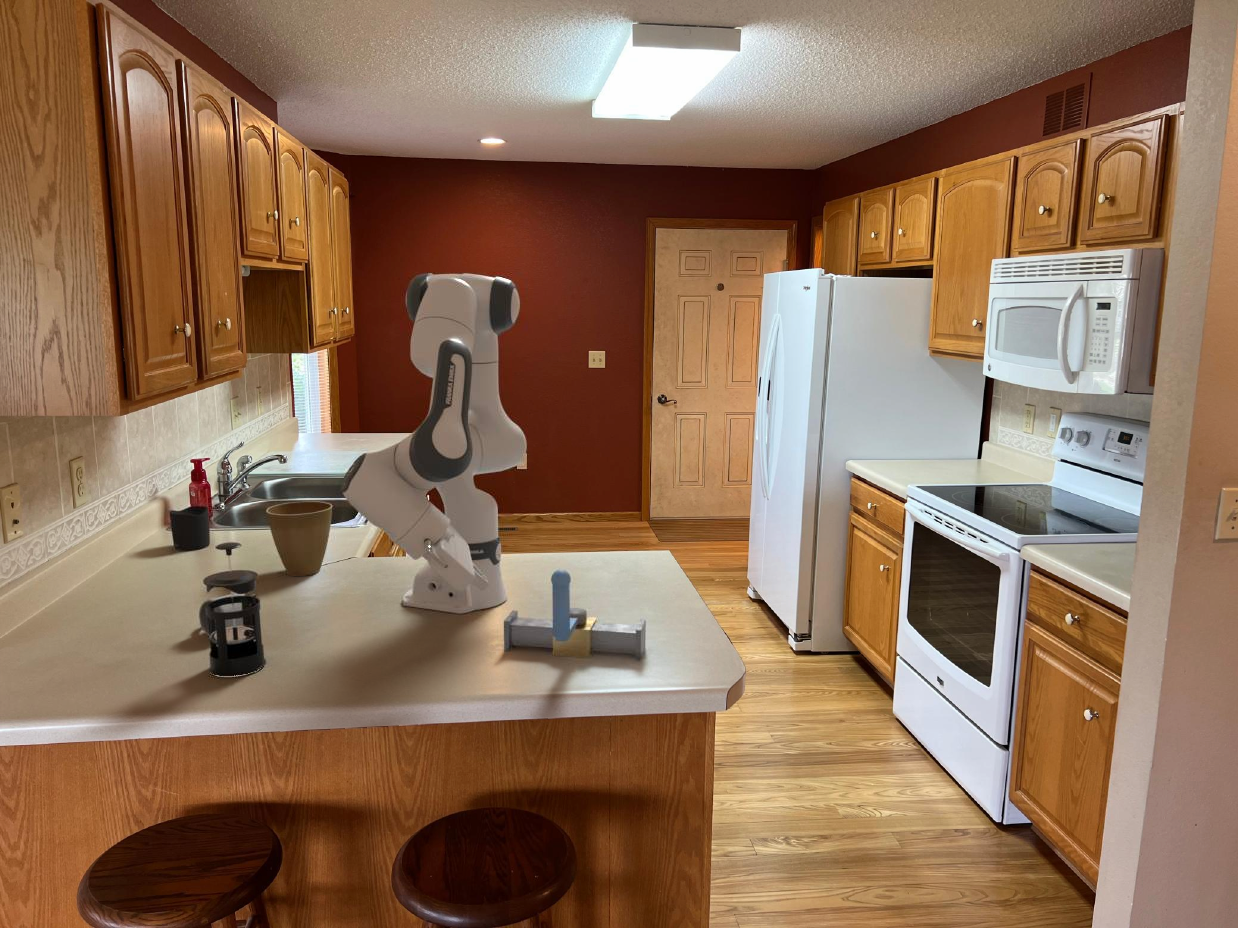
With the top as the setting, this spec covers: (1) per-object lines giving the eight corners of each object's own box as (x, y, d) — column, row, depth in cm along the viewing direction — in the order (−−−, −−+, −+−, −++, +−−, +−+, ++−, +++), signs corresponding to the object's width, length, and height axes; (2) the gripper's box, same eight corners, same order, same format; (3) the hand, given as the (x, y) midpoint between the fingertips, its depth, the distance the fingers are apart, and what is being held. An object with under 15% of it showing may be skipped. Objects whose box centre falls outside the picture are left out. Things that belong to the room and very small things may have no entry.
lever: (566, 616, 172) (565, 548, 170) (588, 617, 172) (588, 549, 169) (546, 645, 158) (546, 572, 155) (571, 647, 157) (571, 573, 155)
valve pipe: (503, 651, 170) (503, 621, 169) (513, 639, 176) (512, 609, 175) (640, 661, 166) (640, 630, 165) (645, 648, 172) (645, 618, 171)
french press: (247, 681, 157) (237, 553, 153) (196, 678, 158) (185, 551, 154) (280, 654, 168) (271, 535, 164) (232, 652, 169) (222, 533, 165)
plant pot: (349, 568, 221) (345, 505, 218) (298, 585, 208) (293, 517, 205) (308, 559, 228) (304, 497, 225) (257, 574, 216) (252, 509, 213)
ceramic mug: (260, 627, 182) (256, 591, 180) (225, 641, 175) (222, 603, 173) (223, 619, 187) (220, 584, 185) (188, 632, 179) (185, 595, 178)
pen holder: (177, 542, 243) (173, 506, 241) (214, 540, 245) (211, 504, 243) (168, 552, 234) (165, 515, 232) (207, 550, 236) (204, 513, 234)
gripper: (439, 535, 140) (504, 591, 144) (436, 506, 160) (493, 555, 164) (411, 564, 140) (476, 619, 144) (412, 531, 160) (469, 581, 164)
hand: (485, 585), depth 154 cm, fingers closed
